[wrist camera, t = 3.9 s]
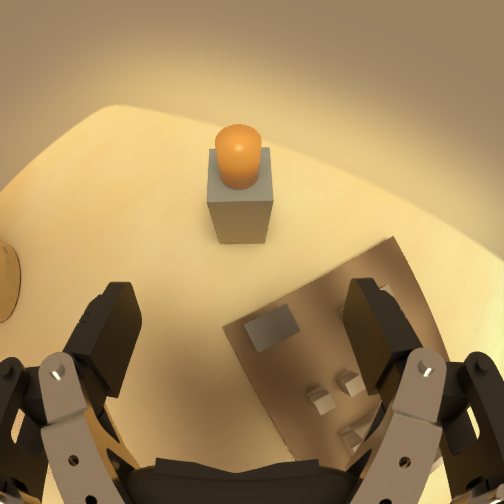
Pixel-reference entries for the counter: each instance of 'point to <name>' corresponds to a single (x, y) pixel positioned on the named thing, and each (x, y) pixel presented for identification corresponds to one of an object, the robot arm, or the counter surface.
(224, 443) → the counter surface
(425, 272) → the counter surface
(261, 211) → the connector plug
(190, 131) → the counter surface
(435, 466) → the board
